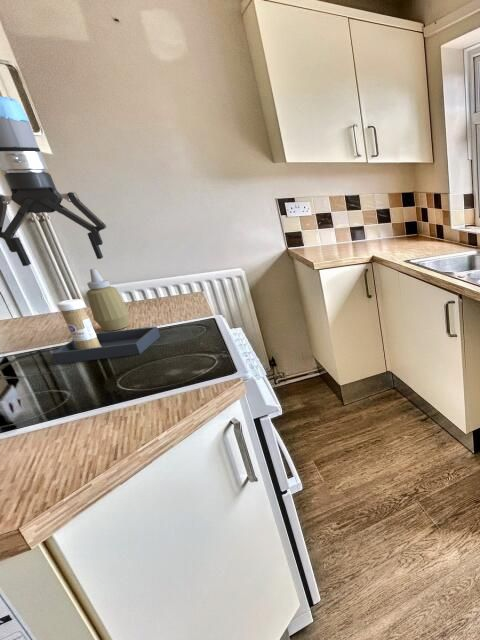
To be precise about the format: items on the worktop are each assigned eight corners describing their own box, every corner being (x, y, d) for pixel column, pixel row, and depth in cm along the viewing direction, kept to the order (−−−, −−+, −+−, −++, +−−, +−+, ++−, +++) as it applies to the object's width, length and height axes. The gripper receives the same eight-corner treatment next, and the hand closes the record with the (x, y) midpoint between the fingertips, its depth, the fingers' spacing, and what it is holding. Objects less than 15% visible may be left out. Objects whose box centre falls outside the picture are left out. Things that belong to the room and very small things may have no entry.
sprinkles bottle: (74, 354, 108) (51, 304, 103) (87, 347, 112) (65, 299, 107) (94, 352, 109) (72, 303, 103) (106, 346, 113) (86, 297, 108)
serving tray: (56, 364, 104) (50, 353, 102) (85, 344, 115) (81, 334, 114) (140, 354, 109) (136, 343, 108) (160, 336, 120) (157, 326, 119)
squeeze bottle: (125, 321, 132) (103, 265, 125) (139, 325, 129) (117, 267, 122) (93, 330, 126) (67, 271, 119) (107, 334, 122) (81, 273, 115)
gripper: (-63, 173, 90) (-13, 271, 98) (93, 170, 102) (126, 257, 111) (-46, 172, 96) (-1, 265, 104) (100, 170, 108) (130, 253, 116)
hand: (64, 261), depth 107 cm, fingers open, 13 cm apart
